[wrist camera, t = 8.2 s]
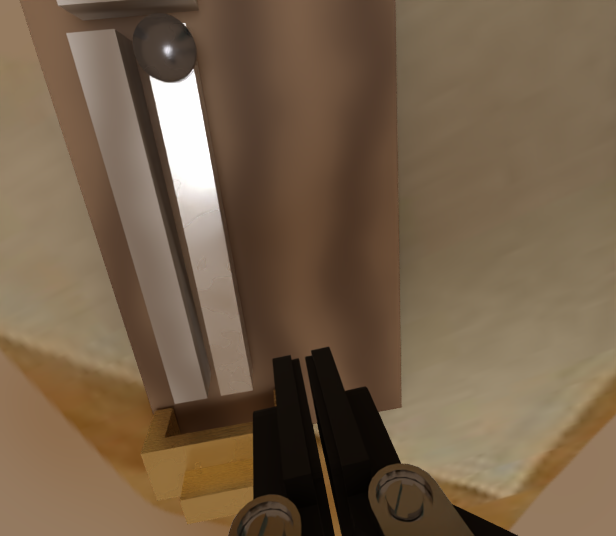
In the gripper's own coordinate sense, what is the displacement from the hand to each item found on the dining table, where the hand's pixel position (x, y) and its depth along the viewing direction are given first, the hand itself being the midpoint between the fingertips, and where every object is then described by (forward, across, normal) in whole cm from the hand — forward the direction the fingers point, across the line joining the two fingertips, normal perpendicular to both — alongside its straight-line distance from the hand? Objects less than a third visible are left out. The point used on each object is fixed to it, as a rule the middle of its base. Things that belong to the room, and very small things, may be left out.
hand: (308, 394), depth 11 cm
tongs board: (+15, +1, 0) cm, 15 cm away
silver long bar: (+13, +4, -2) cm, 14 cm away
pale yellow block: (+13, +6, +12) cm, 19 cm away
